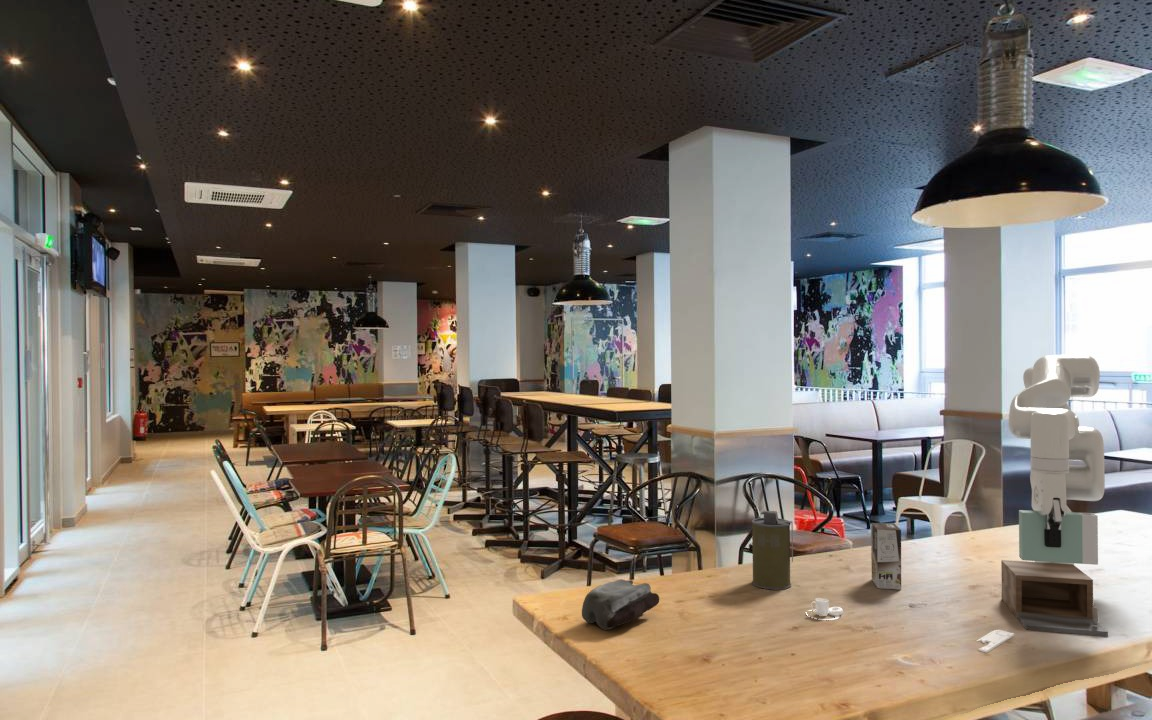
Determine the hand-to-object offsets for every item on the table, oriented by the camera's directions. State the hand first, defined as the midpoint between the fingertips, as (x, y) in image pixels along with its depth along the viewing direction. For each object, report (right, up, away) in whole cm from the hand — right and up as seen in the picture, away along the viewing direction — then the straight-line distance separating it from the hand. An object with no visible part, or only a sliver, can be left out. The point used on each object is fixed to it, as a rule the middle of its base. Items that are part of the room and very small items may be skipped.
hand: (1050, 544), depth 176 cm
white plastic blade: (-19, -20, -8) cm, 28 cm away
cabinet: (+5, -19, +7) cm, 21 cm away
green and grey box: (+1, -4, 0) cm, 4 cm away
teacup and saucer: (-47, -20, +7) cm, 52 cm away
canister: (-55, -20, +35) cm, 68 cm away
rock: (-98, -20, +7) cm, 100 cm away
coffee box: (-24, -19, +34) cm, 46 cm away
